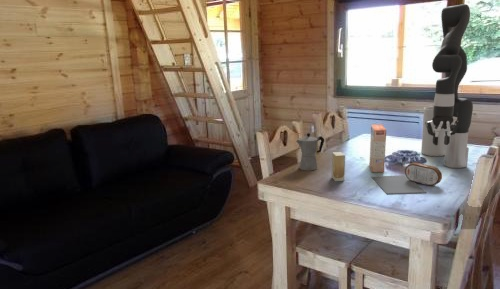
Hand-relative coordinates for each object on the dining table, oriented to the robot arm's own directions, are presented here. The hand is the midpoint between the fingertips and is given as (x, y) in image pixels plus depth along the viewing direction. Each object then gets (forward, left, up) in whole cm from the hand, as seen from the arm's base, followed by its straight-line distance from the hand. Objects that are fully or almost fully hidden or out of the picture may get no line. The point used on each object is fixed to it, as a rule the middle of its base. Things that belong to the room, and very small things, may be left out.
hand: (440, 144), depth 168 cm
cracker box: (+19, -24, -17) cm, 35 cm away
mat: (+17, 0, -17) cm, 25 cm away
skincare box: (+41, -10, -17) cm, 46 cm away
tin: (+7, 0, -17) cm, 18 cm away
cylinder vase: (-19, -47, -17) cm, 54 cm away
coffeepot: (+51, -29, -17) cm, 61 cm away
